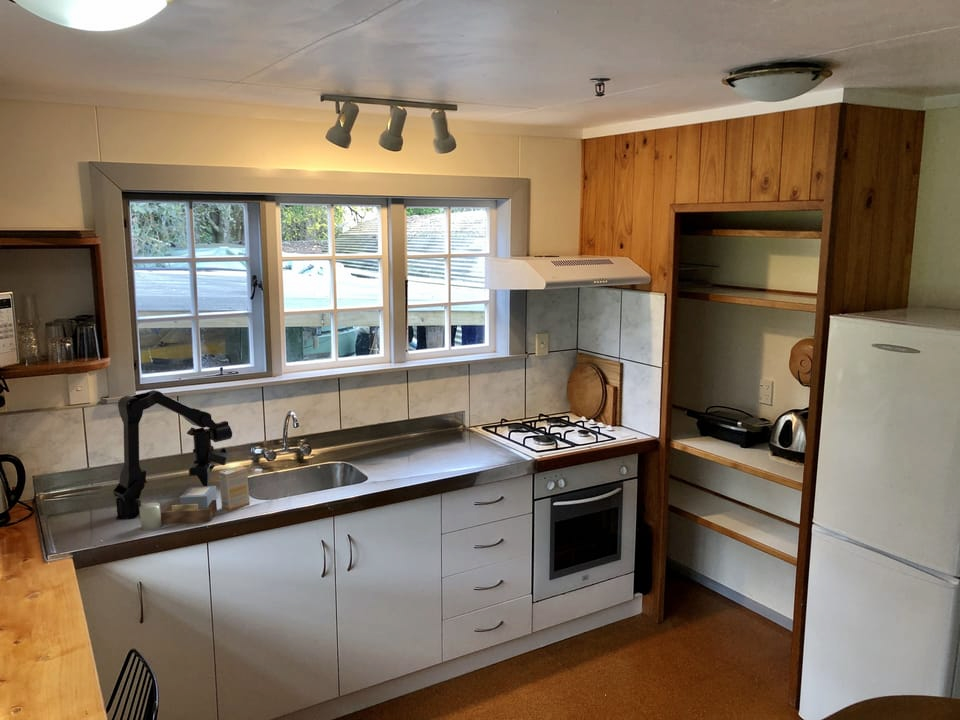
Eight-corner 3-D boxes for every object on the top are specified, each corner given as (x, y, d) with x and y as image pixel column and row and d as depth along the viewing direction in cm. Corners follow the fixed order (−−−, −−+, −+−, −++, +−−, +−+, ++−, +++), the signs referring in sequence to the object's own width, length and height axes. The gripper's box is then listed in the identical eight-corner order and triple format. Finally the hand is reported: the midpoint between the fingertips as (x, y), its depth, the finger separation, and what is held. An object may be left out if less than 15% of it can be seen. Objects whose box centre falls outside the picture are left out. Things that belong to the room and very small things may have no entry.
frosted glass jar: (138, 531, 239) (136, 509, 238) (144, 524, 245) (142, 503, 244) (158, 529, 240) (156, 508, 239) (164, 522, 246) (162, 502, 245)
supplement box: (242, 501, 265) (239, 465, 262) (250, 504, 261) (247, 467, 259) (220, 508, 258) (218, 471, 256) (228, 511, 255) (226, 473, 253)
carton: (180, 511, 257) (179, 497, 256) (191, 500, 268) (189, 486, 267) (207, 510, 257) (206, 495, 256) (217, 499, 268) (215, 485, 267)
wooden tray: (161, 524, 244) (159, 506, 243) (169, 513, 254) (168, 496, 253) (210, 521, 246) (209, 503, 245) (217, 511, 255) (215, 494, 254)
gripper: (220, 451, 262) (223, 494, 264) (231, 437, 280) (234, 477, 283) (186, 452, 261) (190, 496, 263) (200, 438, 279) (203, 479, 281)
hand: (206, 487), depth 273 cm, fingers closed
